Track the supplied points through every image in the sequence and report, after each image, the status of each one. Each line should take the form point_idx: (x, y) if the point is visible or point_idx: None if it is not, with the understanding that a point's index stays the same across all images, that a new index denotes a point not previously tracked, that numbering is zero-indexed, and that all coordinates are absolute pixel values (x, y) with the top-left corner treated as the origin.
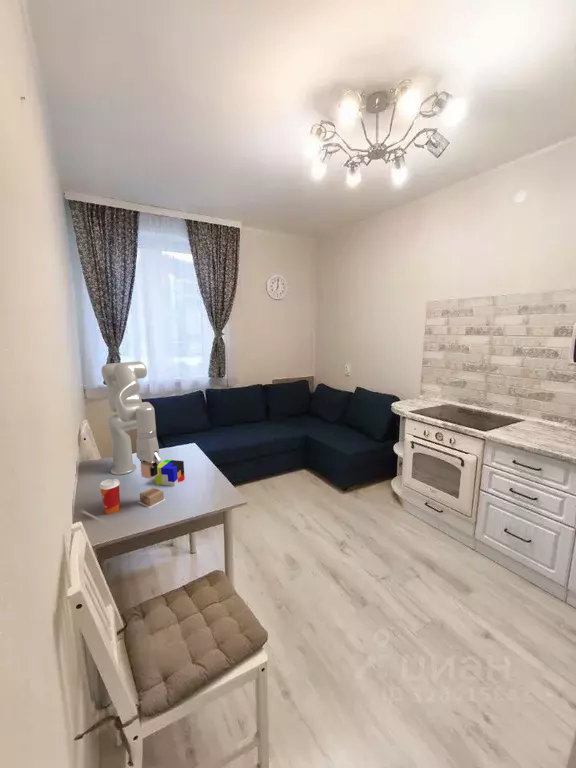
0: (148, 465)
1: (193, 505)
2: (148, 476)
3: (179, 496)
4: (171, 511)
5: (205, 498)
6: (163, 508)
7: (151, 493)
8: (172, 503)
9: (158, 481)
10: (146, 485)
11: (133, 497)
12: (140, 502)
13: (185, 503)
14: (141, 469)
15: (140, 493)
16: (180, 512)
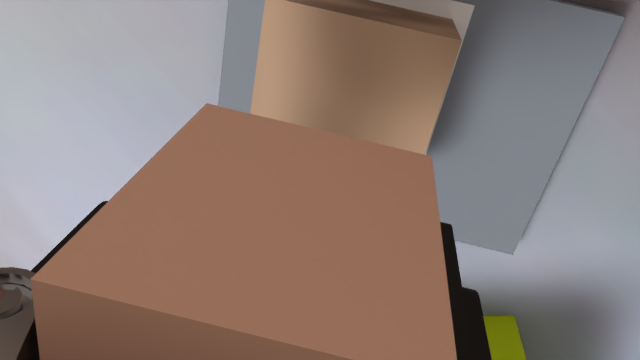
0: (50, 309)
1: (20, 142)
2: (198, 124)
3: None
4: (90, 6)
5: (29, 244)
6: (190, 26)
7: (326, 93)
8: (184, 121)
9: (494, 351)
10: (615, 312)
11: (615, 108)
12: (447, 16)
13: (94, 150)
14: (423, 241)
15: (457, 53)
16: (15, 18)
